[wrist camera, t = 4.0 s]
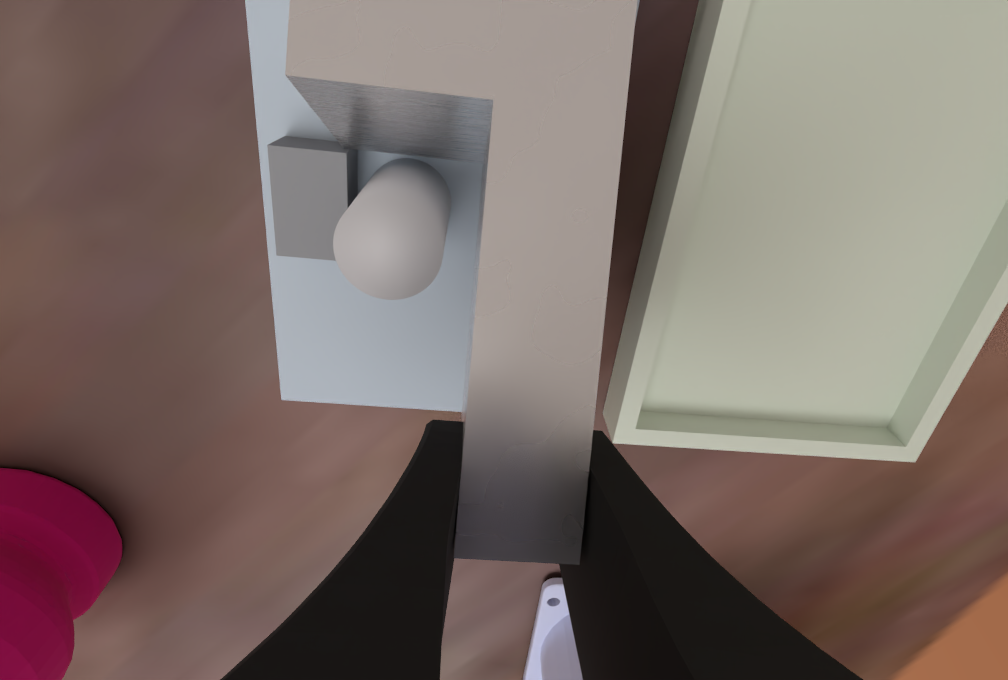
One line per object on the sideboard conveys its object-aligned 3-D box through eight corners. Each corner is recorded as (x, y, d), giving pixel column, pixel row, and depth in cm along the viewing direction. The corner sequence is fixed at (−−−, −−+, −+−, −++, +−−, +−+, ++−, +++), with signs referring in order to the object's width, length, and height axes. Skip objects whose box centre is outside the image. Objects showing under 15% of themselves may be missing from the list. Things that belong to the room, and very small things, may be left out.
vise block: (552, 381, 18) (578, 504, 14) (300, 363, 18) (234, 486, 13) (630, -64, 13) (722, -124, 8) (268, -116, 12) (128, -216, 7)
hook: (543, 482, 13) (579, 564, 9) (321, 468, 13) (256, 548, 9) (582, 80, 12) (639, -23, 8) (349, 51, 12) (294, -71, 8)
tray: (884, 432, 20) (914, 462, 19) (602, 412, 19) (612, 443, 18) (1138, -49, 13) (1216, -59, 12) (725, -112, 12) (756, -131, 11)
